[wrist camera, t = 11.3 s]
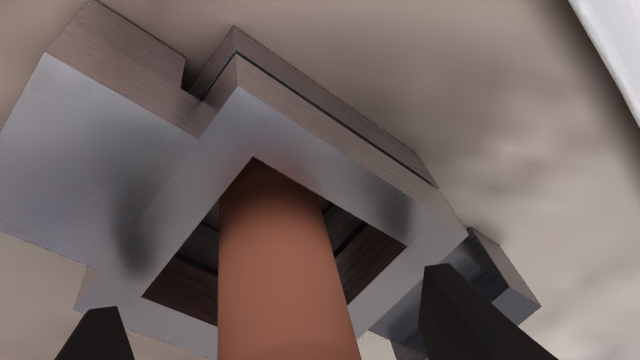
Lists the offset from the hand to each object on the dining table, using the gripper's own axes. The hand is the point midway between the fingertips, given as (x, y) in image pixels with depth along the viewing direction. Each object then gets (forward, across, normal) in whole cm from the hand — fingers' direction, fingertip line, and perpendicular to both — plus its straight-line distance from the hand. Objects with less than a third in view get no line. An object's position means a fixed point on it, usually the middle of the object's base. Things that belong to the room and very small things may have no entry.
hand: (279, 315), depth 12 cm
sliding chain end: (+6, +1, -1) cm, 6 cm away
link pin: (+6, 0, 0) cm, 6 cm away
